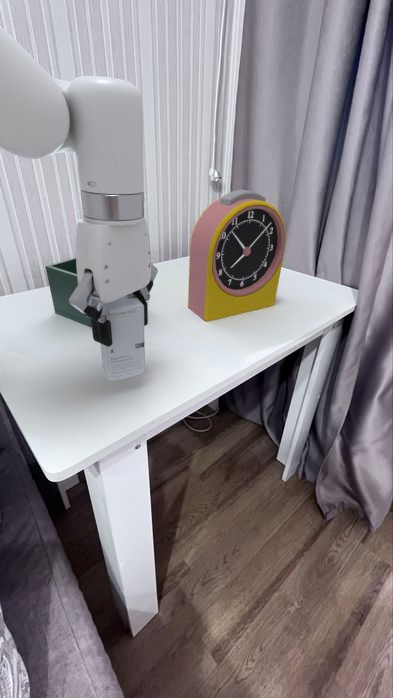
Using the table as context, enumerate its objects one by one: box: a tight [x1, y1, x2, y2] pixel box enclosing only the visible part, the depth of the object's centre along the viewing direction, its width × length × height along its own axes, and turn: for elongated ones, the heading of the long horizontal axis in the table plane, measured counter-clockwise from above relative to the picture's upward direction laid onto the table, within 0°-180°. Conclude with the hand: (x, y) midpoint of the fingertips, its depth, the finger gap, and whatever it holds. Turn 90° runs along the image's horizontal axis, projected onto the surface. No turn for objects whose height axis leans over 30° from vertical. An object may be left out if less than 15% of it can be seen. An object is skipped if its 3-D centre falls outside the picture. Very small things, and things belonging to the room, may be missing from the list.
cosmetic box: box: [97, 295, 146, 382], centre depth 51 cm, size 6×4×12 cm
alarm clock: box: [187, 189, 287, 322], centre depth 76 cm, size 21×9×26 cm, turn 120°
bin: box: [45, 256, 132, 328], centre depth 75 cm, size 15×15×11 cm
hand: (121, 331), depth 50 cm, fingers closed on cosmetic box, 7 cm apart
